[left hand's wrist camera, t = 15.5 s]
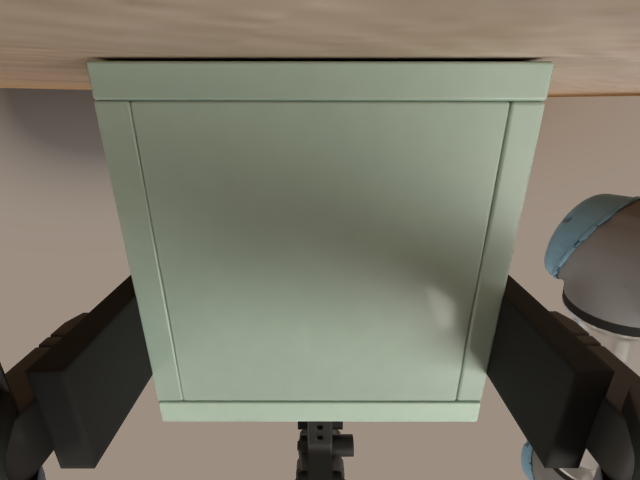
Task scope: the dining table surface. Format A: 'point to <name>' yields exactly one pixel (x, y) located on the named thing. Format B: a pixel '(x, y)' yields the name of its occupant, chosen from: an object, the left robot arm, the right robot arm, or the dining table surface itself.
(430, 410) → the lid
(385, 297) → the chest
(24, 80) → the dining table surface
